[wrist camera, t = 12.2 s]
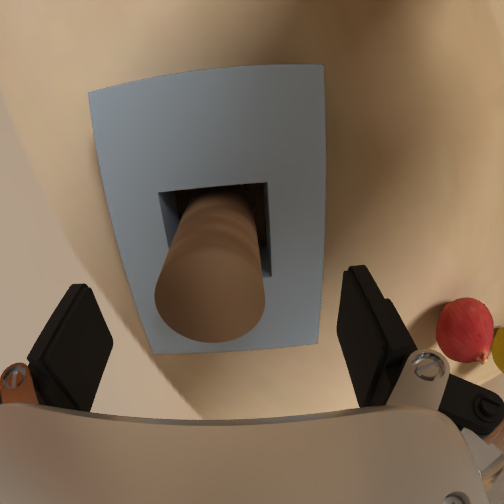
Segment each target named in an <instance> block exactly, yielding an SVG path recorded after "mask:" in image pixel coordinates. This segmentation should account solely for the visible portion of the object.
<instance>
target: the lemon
mask: <svg viewBox="0 0 504 504" xmlns="http://www.w3.org/2000/svg"><path fill="white" fill-rule="evenodd" d="M492 356H493V359H494V362H495V364H496V365H497V367H498V368H499V369H500V370H501V371H502V372H503V373H504V327H503V328H499V329H497V331H496V336H495V337H494V340H493V343H492Z"/></svg>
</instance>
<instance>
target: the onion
mask: <svg viewBox="0 0 504 504" xmlns="http://www.w3.org/2000/svg"><path fill="white" fill-rule="evenodd" d="M493 336H494V326H493V318H492V316H491V314H490V312H489V310H488V308H487V307H486V306H485V304H483V303H482V302H480V301H478V300H476V299H473V298H460V299H457V300H455V301H452V302H448V303H446V304H445V306H444V307H443V310H442V312H441V314H440V317H439V319H438V323H437V329H436V339H437V342H438V345H439V347H440V348H441V350H442V351H443V353H444V354H445V355H446V356H447V357H448V358H450V359H452V360H454V361H458V362H462V363H470V362H476V361H479V362H480V363H481V364H482V365H483V364H485V363H486V362H487V361H488V354H489V351H490V348H491V346H492V343H493Z"/></svg>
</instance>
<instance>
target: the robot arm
mask: <svg viewBox="0 0 504 504" xmlns="http://www.w3.org/2000/svg"><path fill="white" fill-rule="evenodd" d="M337 336H338V339H339V342H340V345H341V348H342V351H343V355H344V358H345V361H346V364H347V368H348V371H349V374H350V377H351V381H352V384H353V387H354V391H355V394H356V398H357V401H358V404H359V407H360V408H355V409H347V410H340V411H333V412H325V413H316V414H307V415H297V416H286V417H275V418H260V419H239V420H172V419H152V418H138V417H125V416H116V415H107V414H99V413H91V412H90V410H91V407H92V404H93V401H94V398H95V395H96V392H97V389H98V386H99V383H100V380H101V378H102V374H103V372H104V369H105V366H106V364H107V361H108V358H109V355H110V353H111V350H112V347H113V338H112V336H111V334H110V331H109V329H108V327H107V325H106V322H105V320H104V318H103V316H102V313H101V311H100V308H99V306H98V304H97V301H96V299H95V296H94V294H93V291H92V289H91V288H89V287H88V286H87V285H86V284H72V285H71V286H70V287H69V289H68V291H67V292H66V294H65V295H64V297H63V298H62V300H61V301H60V303H59V304H58V306H57V308H56V309H55V311H54V312H53V314H52V315H51V317H50V319H49V320H48V322H47V324H46V325H45V327H44V329H43V330H42V332H41V334H40V335H39V337H38V339H37V341H36V342H35V344H34V346H33V348H32V350H31V351H30V353H29V355H28V357H27V359H28V361H29V362H30V363H29V365H28V366H27V365H26V364H24V363H15V364H12V365H11V366H9V367H7V369H5V370H4V372H3V373H2V375H1V377H0V504H504V402H503V400H502V399H501V398H500V397H499V395H497V394H496V393H494V392H492V391H490V390H487V389H485V388H483V387H480V386H478V385H476V384H473V383H471V382H468V381H466V380H464V379H461V378H459V377H457V376H455V375H452V374H450V366H449V363H448V361H447V360H446V358H445V357H444V356H443V355H442V354H441V353H439V352H437V351H435V350H431V349H420V350H418V349H417V347H416V345H415V343H414V341H413V339H412V338H411V336H410V334H409V332H408V330H407V328H406V326H405V325H404V323H403V321H402V319H401V317H400V315H399V314H398V312H397V310H396V308H395V307H394V305H393V303H392V302H391V300H390V299H388V298H387V299H385V298H384V297H383V295H382V293H381V291H380V289H379V288H378V286H377V284H376V282H375V281H374V279H373V277H372V275H371V274H370V272H369V270H368V269H367V267H366V266H365V265H358V266H350V267H349V268H348V270H347V271H344V273H343V281H342V289H341V298H340V306H339V313H338V321H337ZM478 470H479V471H480V473H481V476H482V478H481V476H480V473H479V471H478Z"/></svg>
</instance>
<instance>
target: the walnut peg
mask: <svg viewBox="0 0 504 504" xmlns="http://www.w3.org/2000/svg"><path fill="white" fill-rule="evenodd" d="M154 299H155V305H156V308H157V311H158V313H159V315H160V316H161V318H162V319H163V321H164V322H165V323H166V324H167V325H168V326H169V327H170V328H171V329H172V330H174V331H175V332H177V333H178V334H180V335H182V336H184V337H186V338H189V339H191V340H195V341H199V342H205V343H221V342H227V341H231V340H234V339H237V338H239V337H242V336H243V335H245V334H247V333H248V332H249V331H251V330H252V329H253V328H254V327H255V326H256V325H257V323H258V322H259V321H260V319H261V317H262V315H263V312H264V309H265V292H264V285H263V277H262V269H261V261H260V254H259V246H258V239H257V231H256V223H255V216H254V208H253V202H252V199H251V197H250V195H249V193H248V192H247V191H246V190H245V188H243V187H242V186H241V185H240V184H237V185H225V186H214V187H204V188H196V189H195V190H194V192H193V193H192V195H191V197H190V199H189V201H188V204H187V206H186V208H185V211H184V213H183V216H182V218H181V221H180V223H179V226H178V228H177V231H176V233H175V236H174V238H173V241H172V243H171V246H170V249H169V251H168V254H167V256H166V259H165V262H164V264H163V267H162V270H161V272H160V275H159V278H158V281H157V283H156V287H155V293H154Z"/></svg>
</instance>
